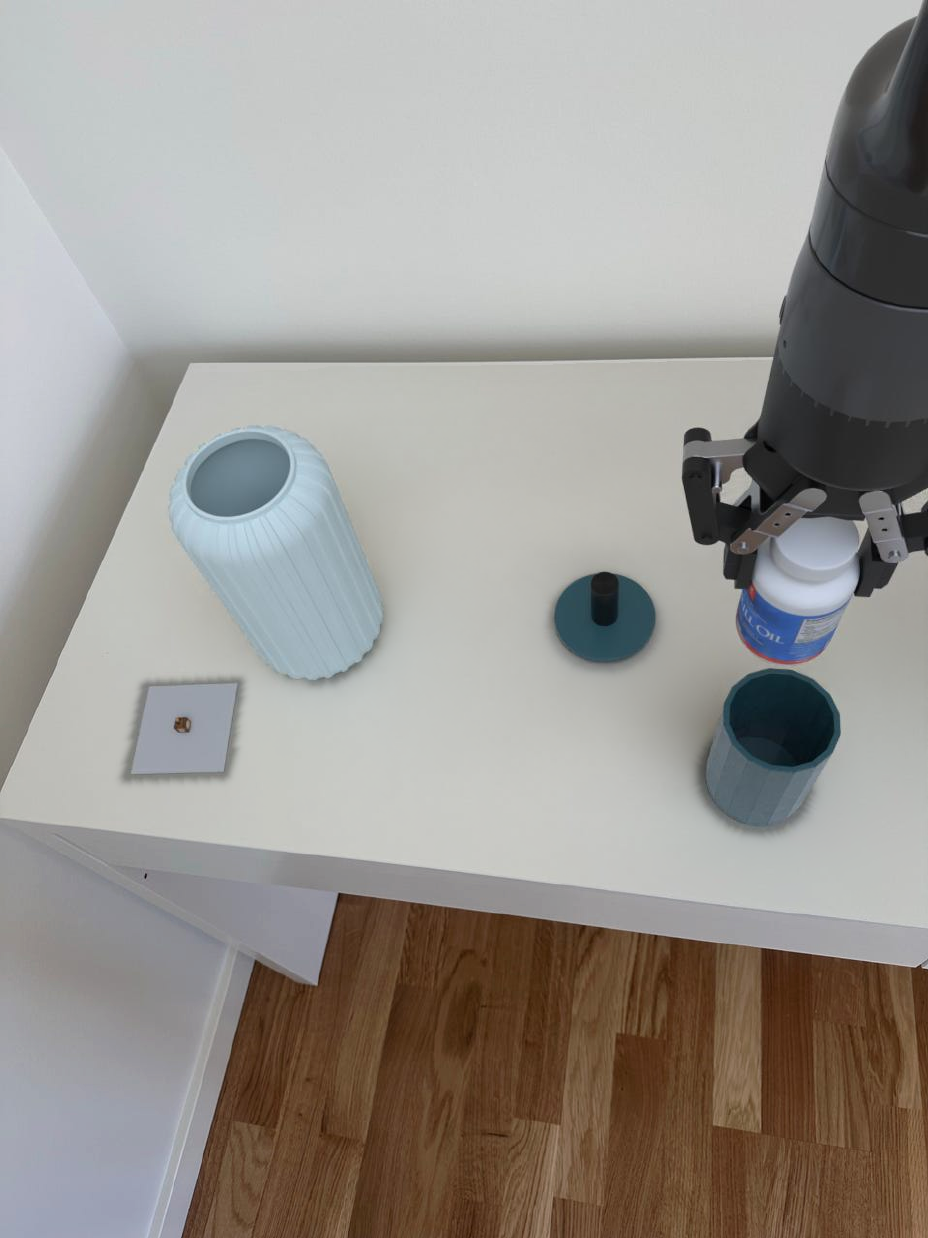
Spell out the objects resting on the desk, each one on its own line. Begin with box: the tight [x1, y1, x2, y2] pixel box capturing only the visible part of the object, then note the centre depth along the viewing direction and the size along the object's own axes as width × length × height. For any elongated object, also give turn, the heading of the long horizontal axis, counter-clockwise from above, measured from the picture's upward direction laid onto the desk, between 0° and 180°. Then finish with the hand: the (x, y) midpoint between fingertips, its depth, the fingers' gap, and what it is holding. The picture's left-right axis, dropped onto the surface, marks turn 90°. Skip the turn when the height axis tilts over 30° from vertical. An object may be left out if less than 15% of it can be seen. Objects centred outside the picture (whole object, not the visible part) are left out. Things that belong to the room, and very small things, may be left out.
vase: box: [167, 424, 384, 681], centre depth 70 cm, size 12×12×22 cm
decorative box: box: [130, 682, 238, 775], centre depth 76 cm, size 8×8×2 cm
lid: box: [553, 571, 656, 663], centre depth 74 cm, size 8×8×6 cm
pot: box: [705, 667, 842, 827], centre depth 64 cm, size 7×7×12 cm
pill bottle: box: [735, 517, 860, 667], centre depth 49 cm, size 6×5×10 cm
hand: (800, 578), depth 48 cm, fingers closed on pill bottle, 5 cm apart
